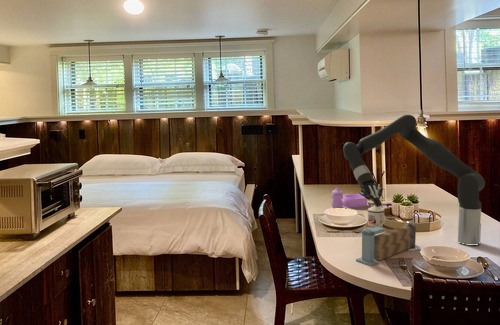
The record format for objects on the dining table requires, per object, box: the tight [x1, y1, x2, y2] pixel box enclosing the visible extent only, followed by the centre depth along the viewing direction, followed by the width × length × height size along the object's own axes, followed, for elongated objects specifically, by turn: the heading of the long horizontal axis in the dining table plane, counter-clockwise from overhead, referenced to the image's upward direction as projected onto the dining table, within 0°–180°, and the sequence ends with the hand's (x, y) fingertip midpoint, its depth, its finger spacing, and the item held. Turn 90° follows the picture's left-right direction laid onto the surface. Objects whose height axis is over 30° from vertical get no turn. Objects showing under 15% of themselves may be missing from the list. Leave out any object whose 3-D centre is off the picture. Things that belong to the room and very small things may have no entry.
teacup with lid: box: [367, 204, 387, 228], centre depth 241 cm, size 12×9×12 cm
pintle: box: [405, 220, 421, 252], centre depth 205 cm, size 9×9×12 cm
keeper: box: [355, 226, 386, 267], centre depth 189 cm, size 12×8×14 cm
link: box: [374, 223, 417, 262], centre depth 197 cm, size 28×5×10 cm, turn 129°
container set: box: [330, 187, 368, 209], centre depth 288 cm, size 25×15×13 cm, turn 112°
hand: (379, 205), depth 209 cm, fingers closed
